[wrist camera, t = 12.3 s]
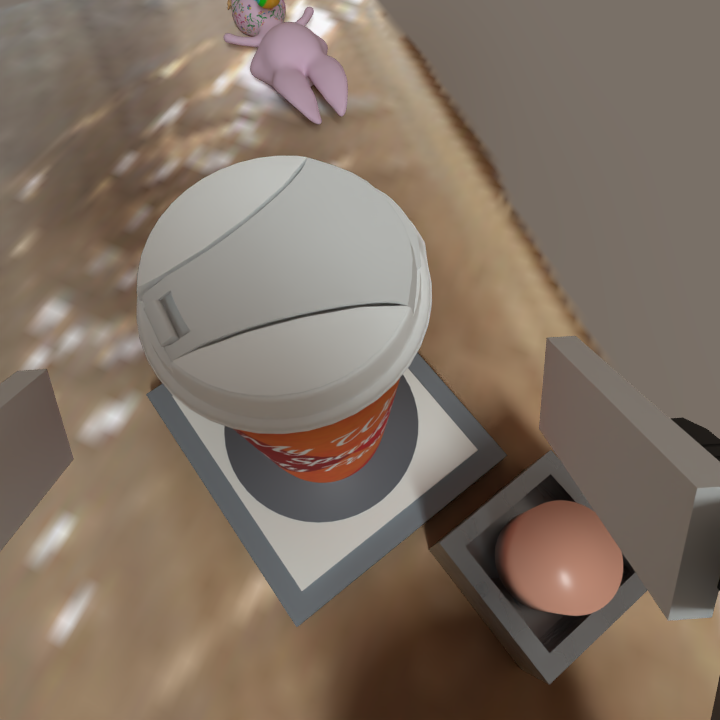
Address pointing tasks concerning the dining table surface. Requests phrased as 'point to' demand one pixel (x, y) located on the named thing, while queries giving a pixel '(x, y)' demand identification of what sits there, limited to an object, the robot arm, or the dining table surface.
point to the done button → (559, 559)
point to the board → (337, 489)
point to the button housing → (496, 605)
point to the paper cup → (286, 308)
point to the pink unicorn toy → (289, 56)
